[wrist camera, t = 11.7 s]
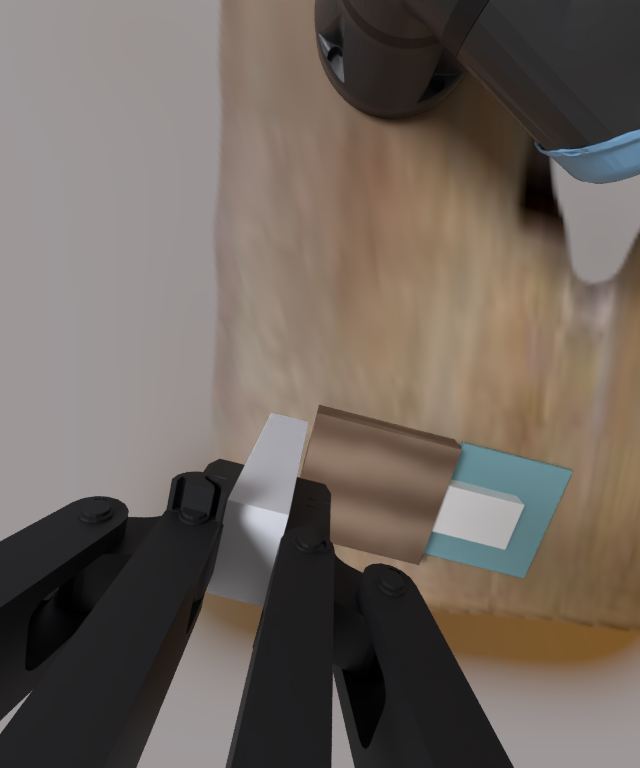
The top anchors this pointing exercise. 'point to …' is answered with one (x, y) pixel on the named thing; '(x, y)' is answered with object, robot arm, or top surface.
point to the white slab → (478, 514)
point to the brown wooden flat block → (379, 481)
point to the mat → (511, 476)
